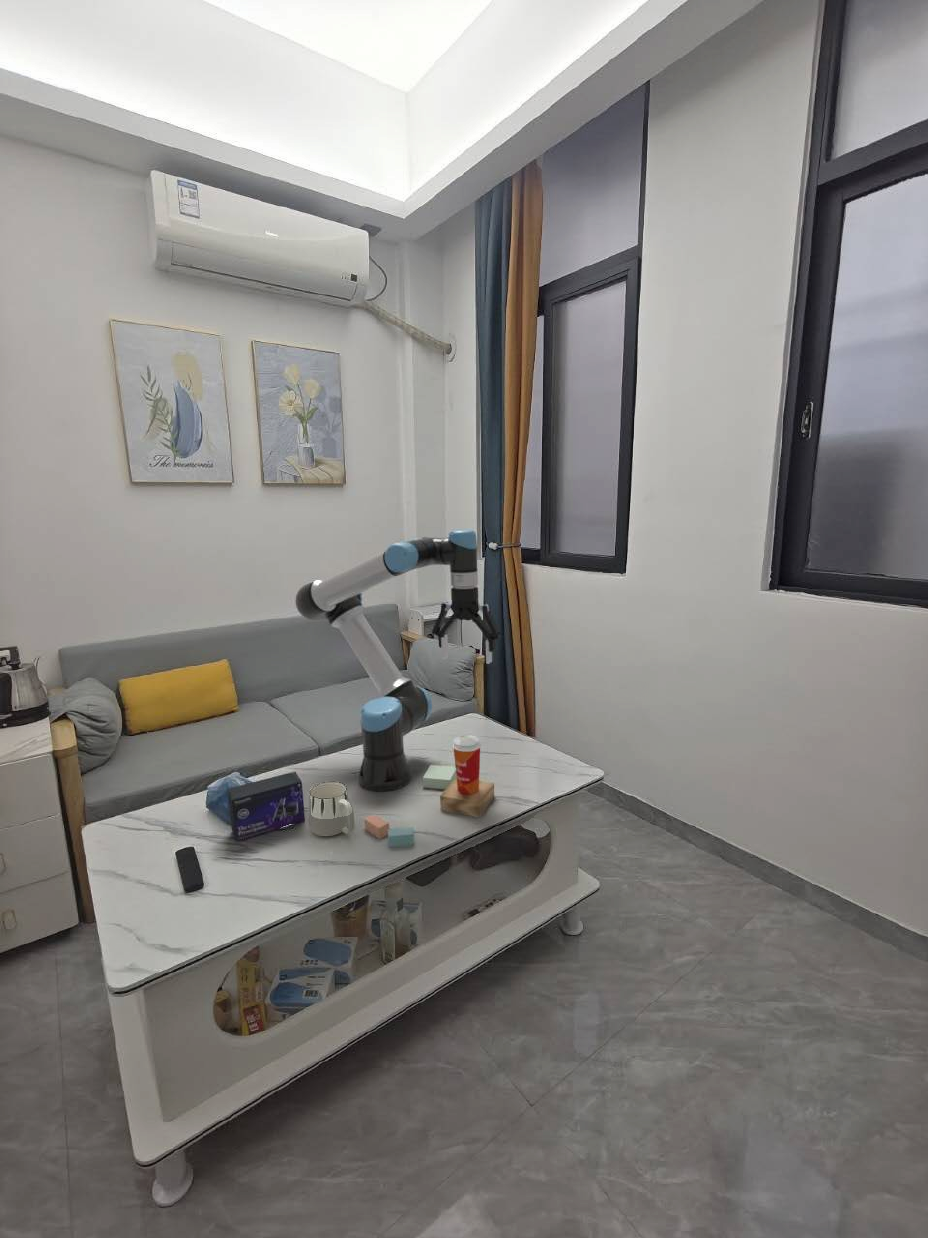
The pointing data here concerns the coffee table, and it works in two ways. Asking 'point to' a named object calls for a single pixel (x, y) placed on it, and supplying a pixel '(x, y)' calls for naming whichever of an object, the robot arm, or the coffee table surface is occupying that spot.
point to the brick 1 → (376, 825)
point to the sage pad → (439, 777)
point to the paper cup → (467, 763)
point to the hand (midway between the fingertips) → (466, 660)
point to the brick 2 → (400, 837)
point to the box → (266, 805)
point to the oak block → (467, 799)
